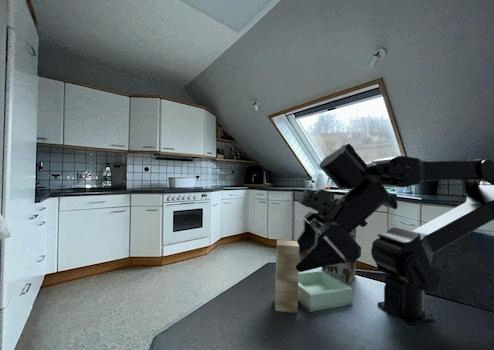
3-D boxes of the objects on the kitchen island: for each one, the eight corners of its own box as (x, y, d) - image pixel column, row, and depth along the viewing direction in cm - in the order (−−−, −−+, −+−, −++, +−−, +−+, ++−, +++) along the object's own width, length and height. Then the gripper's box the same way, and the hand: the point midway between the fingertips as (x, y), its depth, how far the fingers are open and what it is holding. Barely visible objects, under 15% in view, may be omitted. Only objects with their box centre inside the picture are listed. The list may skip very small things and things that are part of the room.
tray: (320, 282, 53) (320, 269, 53) (352, 304, 44) (353, 288, 44) (283, 287, 50) (284, 273, 50) (310, 311, 41) (310, 295, 41)
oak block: (294, 301, 44) (296, 240, 45) (297, 312, 40) (299, 246, 41) (274, 299, 45) (276, 239, 45) (275, 310, 41) (277, 245, 41)
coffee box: (348, 288, 51) (349, 218, 52) (320, 280, 55) (322, 215, 55) (356, 276, 58) (357, 214, 59) (331, 269, 62) (332, 212, 63)
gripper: (315, 177, 52) (266, 221, 52) (341, 172, 33) (265, 240, 34) (348, 212, 51) (298, 257, 51) (395, 228, 32) (316, 298, 33)
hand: (294, 260), depth 42 cm, fingers open, 9 cm apart
